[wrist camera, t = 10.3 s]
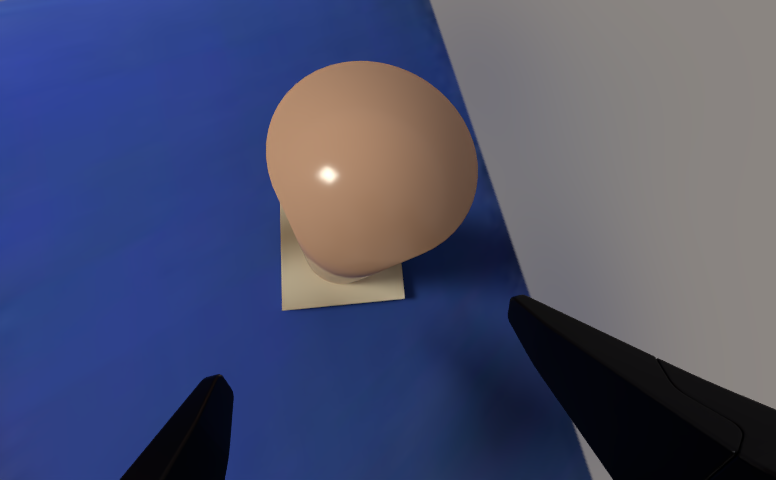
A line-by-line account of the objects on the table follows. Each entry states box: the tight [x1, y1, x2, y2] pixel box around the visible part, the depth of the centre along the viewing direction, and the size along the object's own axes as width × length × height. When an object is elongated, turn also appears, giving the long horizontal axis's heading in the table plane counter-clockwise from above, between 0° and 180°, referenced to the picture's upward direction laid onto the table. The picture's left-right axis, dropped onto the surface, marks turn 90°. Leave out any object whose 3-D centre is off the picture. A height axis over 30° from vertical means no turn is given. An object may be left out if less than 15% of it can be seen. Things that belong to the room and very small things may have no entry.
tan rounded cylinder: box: [266, 61, 478, 284], centre depth 13 cm, size 5×5×13 cm
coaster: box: [280, 203, 405, 311], centre depth 20 cm, size 8×8×1 cm
